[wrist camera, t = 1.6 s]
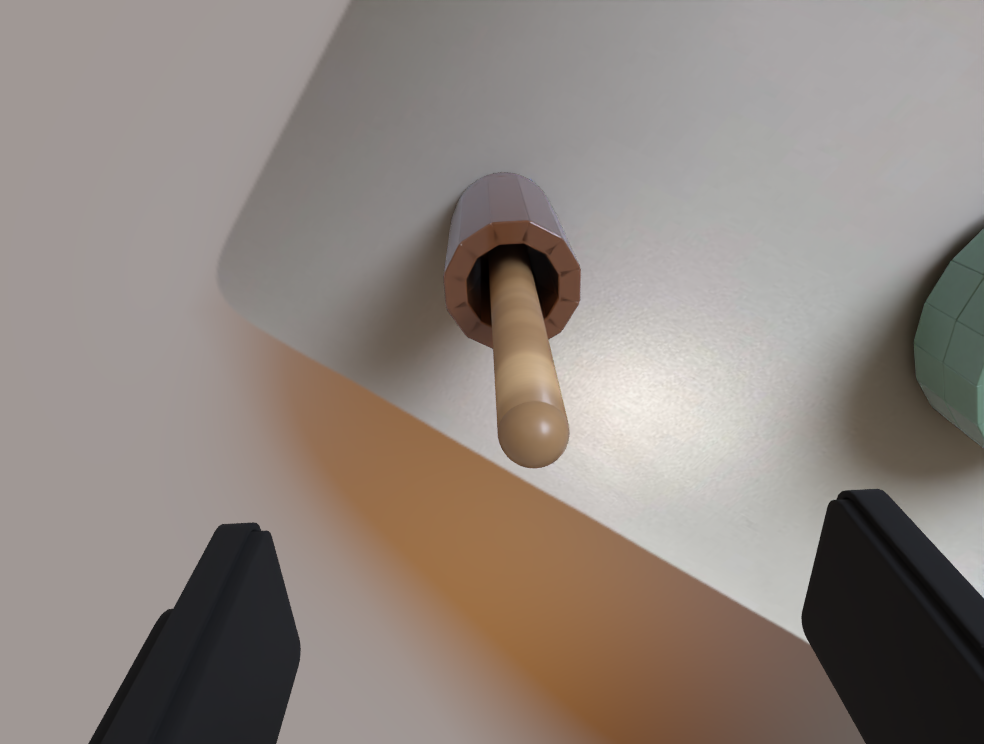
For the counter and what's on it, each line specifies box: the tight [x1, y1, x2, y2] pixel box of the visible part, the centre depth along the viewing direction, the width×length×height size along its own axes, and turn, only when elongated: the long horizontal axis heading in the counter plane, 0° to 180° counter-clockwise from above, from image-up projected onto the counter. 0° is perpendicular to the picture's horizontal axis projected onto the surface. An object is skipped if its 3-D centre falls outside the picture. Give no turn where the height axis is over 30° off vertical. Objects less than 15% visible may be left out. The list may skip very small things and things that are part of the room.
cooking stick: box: [488, 244, 569, 468], centre depth 21 cm, size 2×2×18 cm
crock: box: [443, 172, 581, 349], centre depth 26 cm, size 5×5×9 cm
